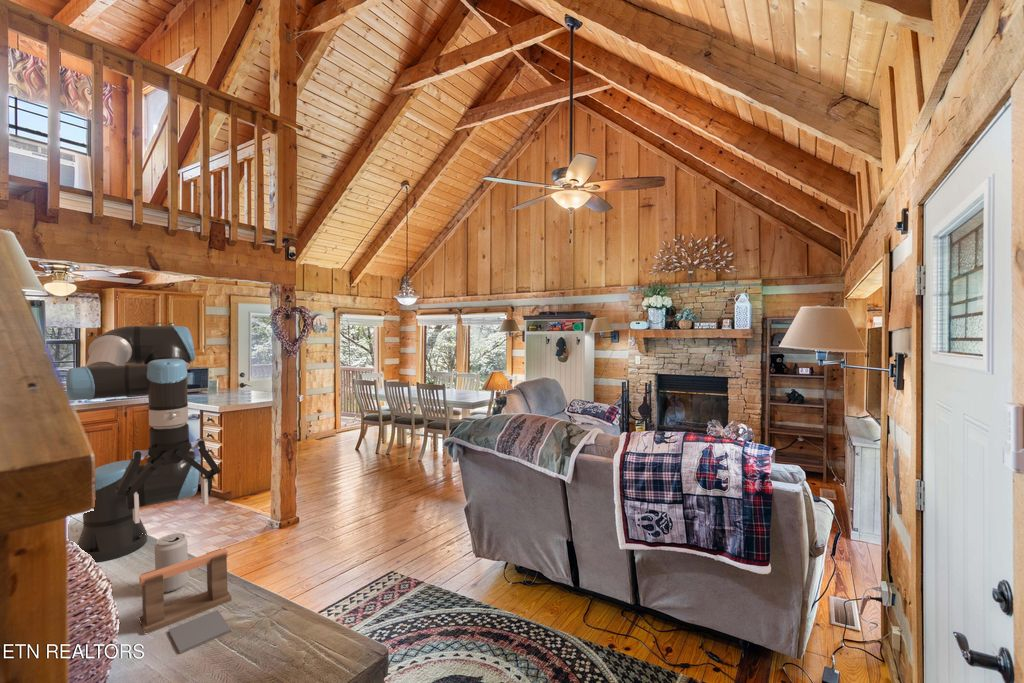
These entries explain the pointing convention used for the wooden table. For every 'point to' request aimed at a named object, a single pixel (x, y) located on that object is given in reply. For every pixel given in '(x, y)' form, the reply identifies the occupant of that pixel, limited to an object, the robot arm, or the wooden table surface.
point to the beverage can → (172, 559)
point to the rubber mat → (199, 631)
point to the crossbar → (182, 566)
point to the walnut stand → (164, 616)
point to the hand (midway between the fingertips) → (172, 512)
